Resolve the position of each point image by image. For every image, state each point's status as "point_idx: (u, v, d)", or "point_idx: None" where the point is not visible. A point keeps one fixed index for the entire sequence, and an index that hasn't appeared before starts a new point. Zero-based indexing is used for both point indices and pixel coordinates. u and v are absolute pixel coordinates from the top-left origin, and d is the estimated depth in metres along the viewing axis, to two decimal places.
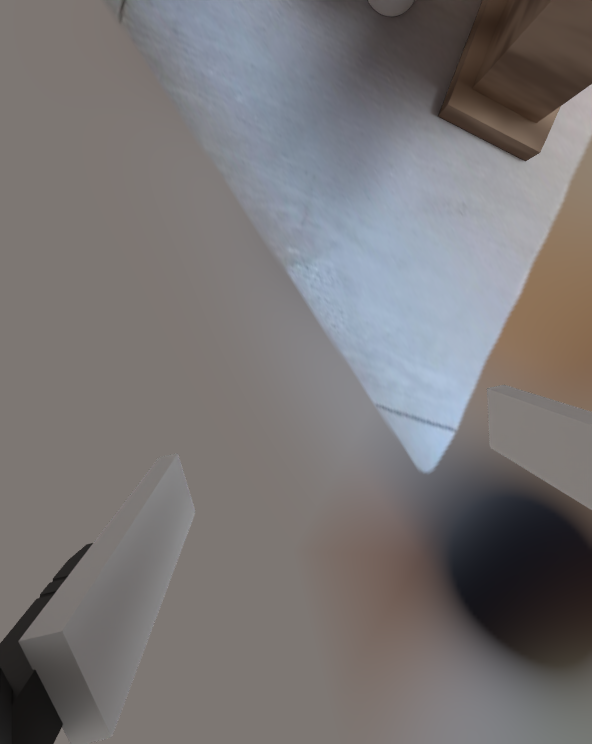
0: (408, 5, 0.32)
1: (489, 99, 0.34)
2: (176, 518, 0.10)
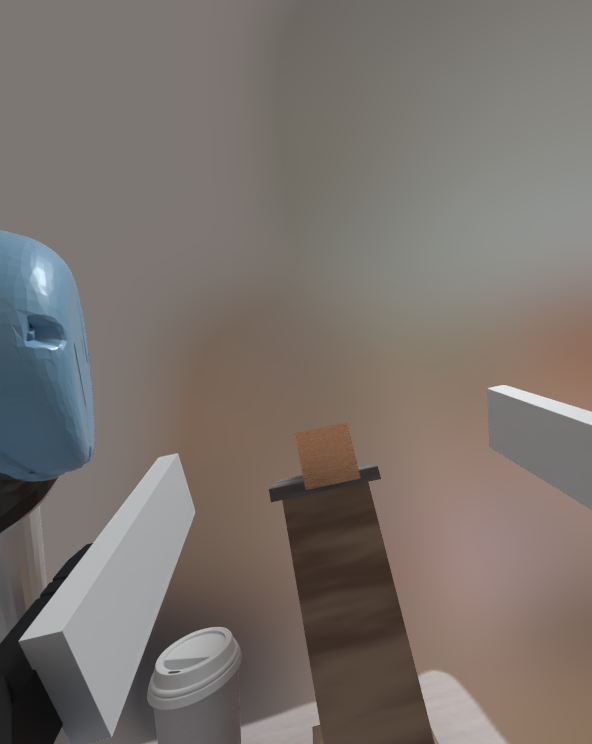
0: None
1: None
2: (176, 518, 0.10)
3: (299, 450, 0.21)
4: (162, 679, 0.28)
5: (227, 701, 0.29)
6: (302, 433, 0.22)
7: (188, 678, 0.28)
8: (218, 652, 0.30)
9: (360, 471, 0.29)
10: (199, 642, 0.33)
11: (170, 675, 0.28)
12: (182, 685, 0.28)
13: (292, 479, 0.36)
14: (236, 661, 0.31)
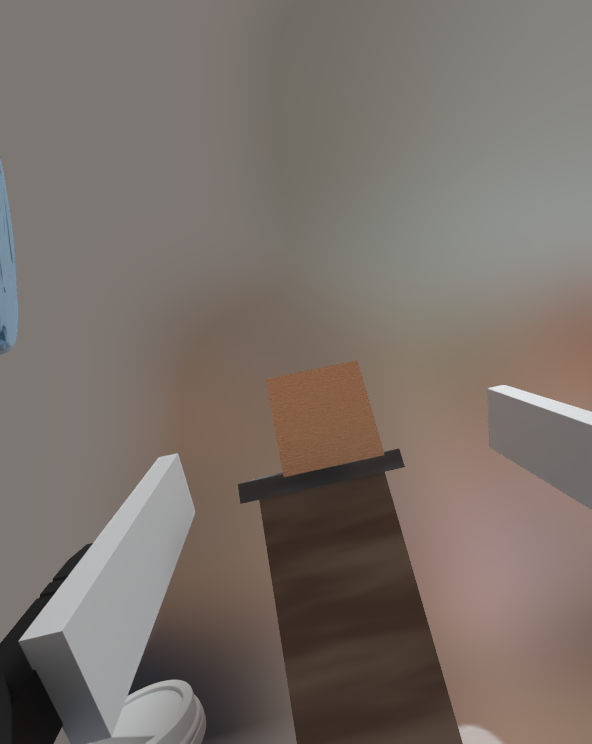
0: None
1: None
2: (176, 518, 0.10)
3: (273, 407, 0.12)
4: None
5: None
6: (279, 379, 0.12)
7: None
8: (167, 729, 0.20)
9: None
10: (146, 706, 0.23)
11: None
12: None
13: None
14: (195, 740, 0.21)
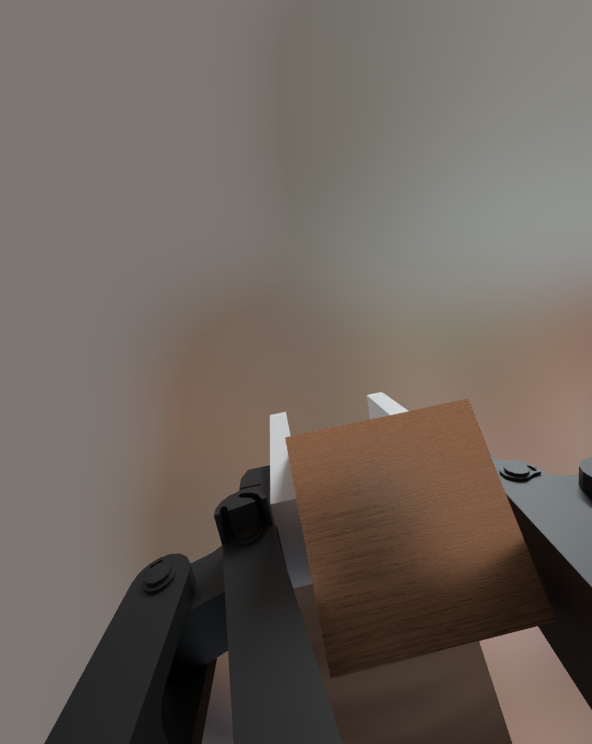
0: None
1: None
2: None
3: (302, 501, 0.06)
4: None
5: None
6: (312, 437, 0.06)
7: None
8: None
9: None
10: None
11: None
12: None
13: None
14: None
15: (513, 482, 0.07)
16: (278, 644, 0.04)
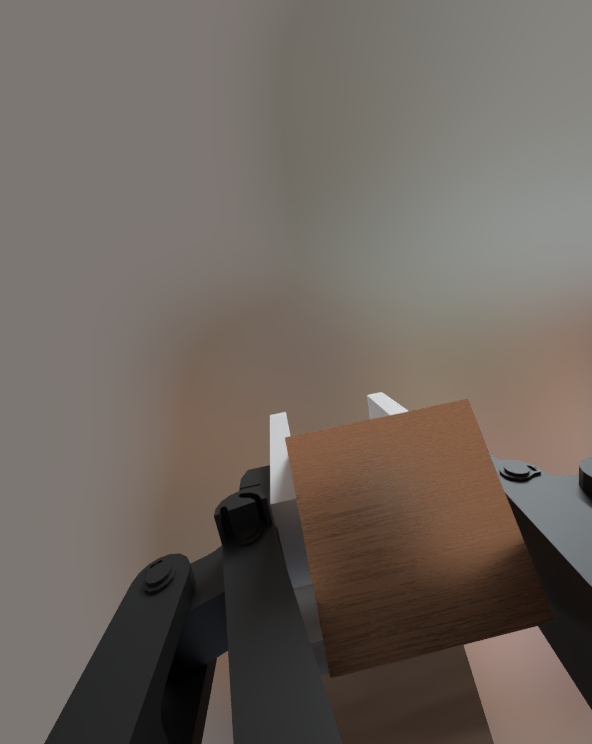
0: None
1: None
2: None
3: (302, 501, 0.06)
4: None
5: None
6: (312, 437, 0.06)
7: None
8: None
9: None
10: None
11: None
12: None
13: None
14: None
15: (513, 482, 0.07)
16: (278, 644, 0.04)
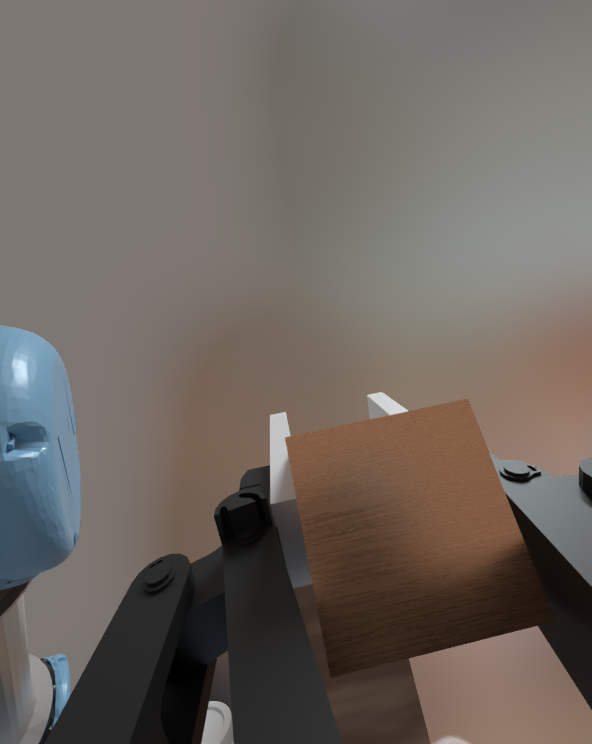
0: None
1: None
2: None
3: (302, 501, 0.06)
4: None
5: None
6: (312, 437, 0.06)
7: None
8: (216, 743, 0.27)
9: None
10: None
11: None
12: None
13: None
14: None
15: (513, 482, 0.07)
16: (278, 644, 0.04)
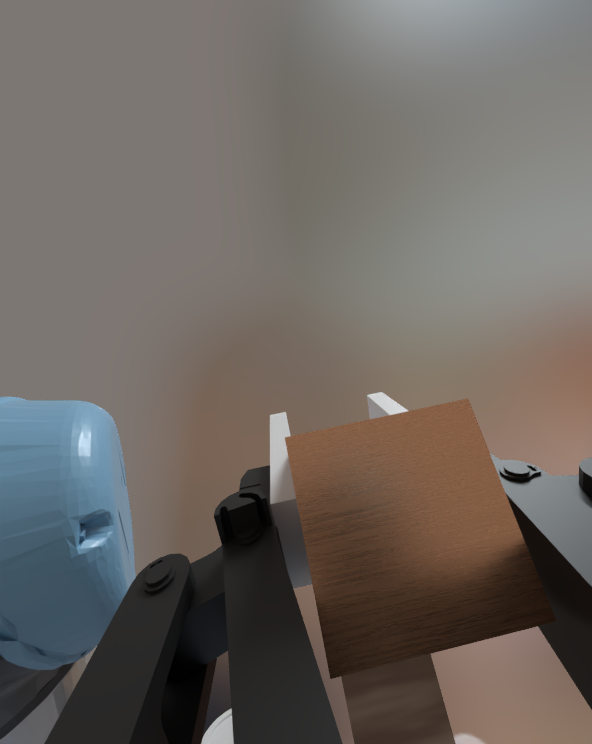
0: None
1: None
2: None
3: (302, 501, 0.06)
4: None
5: None
6: (312, 437, 0.06)
7: None
8: None
9: None
10: None
11: None
12: None
13: None
14: None
15: (513, 482, 0.07)
16: (278, 644, 0.04)
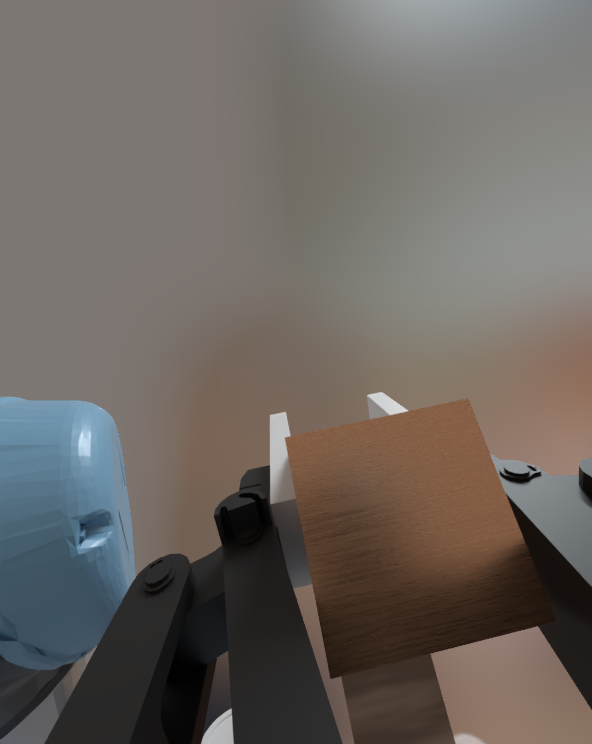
0: None
1: None
2: None
3: (302, 501, 0.06)
4: None
5: None
6: (312, 437, 0.06)
7: None
8: None
9: None
10: None
11: None
12: None
13: None
14: None
15: (513, 482, 0.07)
16: (278, 644, 0.04)
